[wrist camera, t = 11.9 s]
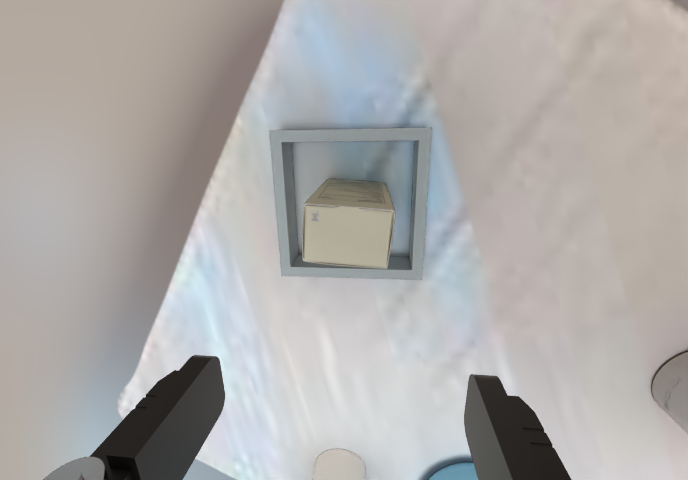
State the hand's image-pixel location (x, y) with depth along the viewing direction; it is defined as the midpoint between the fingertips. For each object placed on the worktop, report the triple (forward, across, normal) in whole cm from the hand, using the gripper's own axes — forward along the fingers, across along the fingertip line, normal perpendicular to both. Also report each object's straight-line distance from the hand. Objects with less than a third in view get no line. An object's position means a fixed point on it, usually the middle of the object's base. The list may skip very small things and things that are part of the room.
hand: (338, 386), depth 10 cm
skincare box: (+25, +1, -1) cm, 25 cm away
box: (+24, +2, -1) cm, 24 cm away
